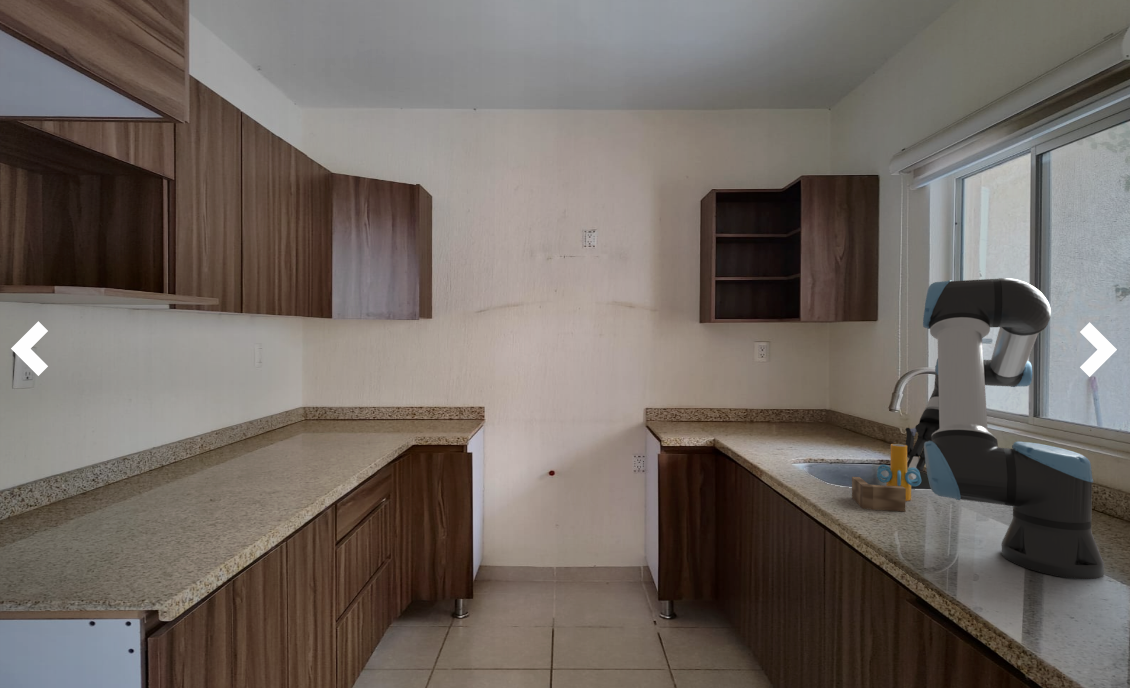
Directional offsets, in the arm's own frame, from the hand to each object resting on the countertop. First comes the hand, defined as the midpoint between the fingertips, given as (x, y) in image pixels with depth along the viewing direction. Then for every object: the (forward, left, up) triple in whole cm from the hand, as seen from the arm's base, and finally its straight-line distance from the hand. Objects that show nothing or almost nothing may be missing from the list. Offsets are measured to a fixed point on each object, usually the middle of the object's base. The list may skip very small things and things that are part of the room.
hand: (909, 477), depth 154 cm
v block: (-20, +5, -5) cm, 21 cm away
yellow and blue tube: (-7, +2, -5) cm, 8 cm away
